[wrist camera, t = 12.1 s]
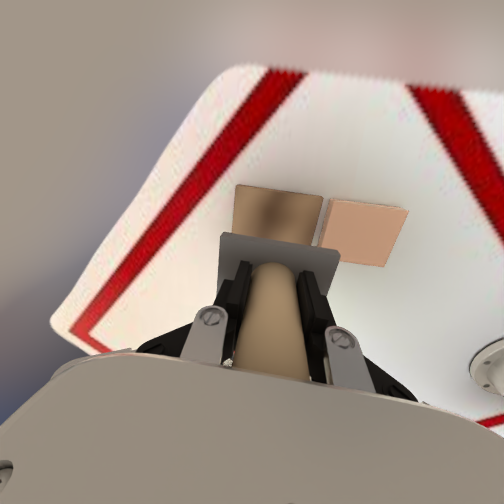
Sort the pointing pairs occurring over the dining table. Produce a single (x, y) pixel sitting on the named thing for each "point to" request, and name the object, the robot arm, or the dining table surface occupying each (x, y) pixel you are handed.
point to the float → (273, 300)
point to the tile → (361, 231)
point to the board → (275, 214)
